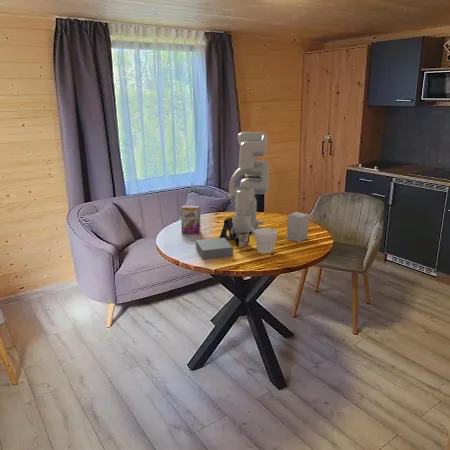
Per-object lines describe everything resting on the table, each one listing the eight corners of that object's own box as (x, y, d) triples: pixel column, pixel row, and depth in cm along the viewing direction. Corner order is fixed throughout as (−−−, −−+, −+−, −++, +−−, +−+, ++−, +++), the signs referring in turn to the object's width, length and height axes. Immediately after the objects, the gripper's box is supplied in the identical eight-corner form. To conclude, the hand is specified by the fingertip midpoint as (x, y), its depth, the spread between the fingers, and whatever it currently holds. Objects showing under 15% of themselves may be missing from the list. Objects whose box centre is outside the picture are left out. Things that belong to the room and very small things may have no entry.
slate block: (224, 246, 226) (224, 237, 225) (232, 256, 212) (232, 247, 210) (196, 249, 222) (196, 240, 221) (202, 259, 208) (202, 250, 206)
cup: (270, 256, 211) (271, 236, 208) (249, 252, 218) (249, 232, 214) (280, 249, 221) (281, 230, 218) (260, 245, 228) (260, 226, 224)
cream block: (245, 243, 231) (245, 231, 229) (247, 246, 226) (248, 234, 224) (236, 244, 230) (236, 232, 228) (239, 247, 225) (239, 235, 223)
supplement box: (308, 239, 238) (309, 214, 234) (299, 242, 232) (300, 217, 227) (294, 235, 244) (296, 211, 240) (286, 239, 238) (287, 214, 233)
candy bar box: (181, 233, 248) (180, 207, 243) (183, 231, 253) (182, 205, 248) (199, 234, 247) (199, 207, 242) (200, 231, 252) (200, 205, 247)
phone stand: (237, 237, 241) (237, 218, 237) (233, 240, 236) (233, 220, 232) (223, 235, 244) (223, 216, 241) (219, 238, 239) (219, 218, 236)
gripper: (255, 209, 228) (254, 240, 234) (225, 211, 224) (225, 243, 229) (259, 213, 221) (258, 244, 227) (229, 215, 217) (229, 247, 222)
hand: (242, 243), depth 228 cm, fingers closed on cream block, 5 cm apart
